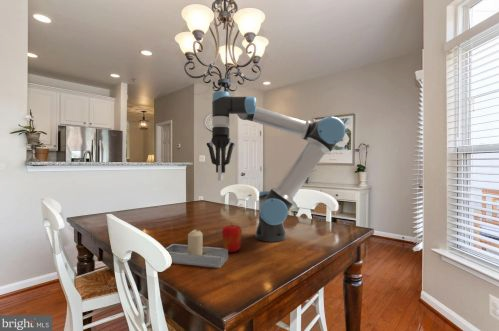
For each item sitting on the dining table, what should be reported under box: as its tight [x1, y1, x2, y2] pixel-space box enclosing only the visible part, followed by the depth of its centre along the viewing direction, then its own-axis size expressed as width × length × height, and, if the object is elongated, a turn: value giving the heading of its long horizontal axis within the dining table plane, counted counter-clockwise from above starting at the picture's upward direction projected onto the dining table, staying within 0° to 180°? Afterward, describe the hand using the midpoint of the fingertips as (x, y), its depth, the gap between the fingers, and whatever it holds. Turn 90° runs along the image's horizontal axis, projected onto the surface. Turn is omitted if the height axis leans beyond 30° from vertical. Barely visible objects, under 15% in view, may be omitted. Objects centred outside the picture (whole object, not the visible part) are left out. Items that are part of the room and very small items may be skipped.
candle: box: [187, 228, 204, 255], centre depth 98 cm, size 6×6×10 cm
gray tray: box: [164, 243, 229, 269], centre depth 98 cm, size 24×10×4 cm, turn 77°
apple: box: [221, 223, 243, 253], centre depth 108 cm, size 9×8×12 cm
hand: (220, 180), depth 114 cm, fingers closed
